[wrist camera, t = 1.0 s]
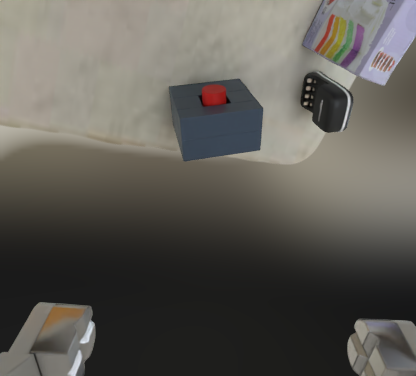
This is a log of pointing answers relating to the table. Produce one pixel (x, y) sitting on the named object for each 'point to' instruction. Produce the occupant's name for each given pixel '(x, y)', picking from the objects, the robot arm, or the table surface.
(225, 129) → the control box
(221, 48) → the table surface
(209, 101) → the button
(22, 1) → the table surface
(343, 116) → the battery charger
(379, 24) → the cake pan box
